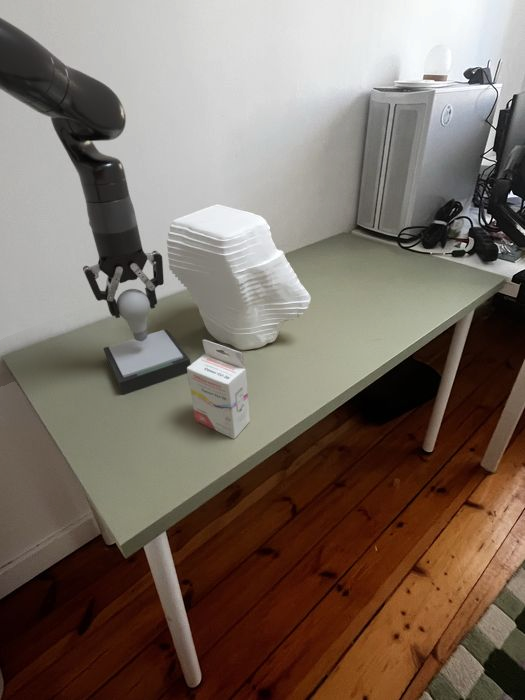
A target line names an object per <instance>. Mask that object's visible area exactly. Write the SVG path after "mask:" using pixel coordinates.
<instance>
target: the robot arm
mask: <svg viewBox="0 0 525 700" xmlns="http://www.w3.org/2000/svg"><path fill="white" fill-rule="evenodd" d="M0 90H1V91H3V92H4V93H6V94H7V95H9V96H11V97H13V98H14V99H16V100H17V101H18V102H20V103H22V104H24V105H26V106H27V107H29V108H30V109H32V110H34V111H35V112H37V113H39V114H40V115H43V116H46V117H48V118H50V121H51V124H52V127H53V129H54V131H55V133H56V135H57V137H58V139H59V141H60V143H61V145H62V146H63V148H64V150H65V151H66V154H67V156H68V158H69V159H70V161H71V163H72V165H73V166H74V168H75V170H76V172H77V174H78V177H79V182H80V186H81V189H82V192H83V196H84V199H85V200H84V201H85V205H86V213H87V219H88V225H89V226H90V228H91V232H92V237H93V240H94V243H95V247H96V251H97V254H98V261H97V264H94V265H91V266H88V265H84V266H83V267H82V271H83V273H84V275H85V278H86V280H87V282H88V285H89V287H90V289H91V291H92V293H93V295H94V297H95V299H96V301H99V302H100V301H106V304H107V307H108V311H109V313H110V315H111V316H112V317H115V319H119V318H121V315H120V314H119V311H118V307H117V299H116V298H115V296H116V293H117V291H118V289H119V284H123V283H124V284H125V283H126V282H129V281H135V280H138V278H139V280H140V281H141V282H142V283H143V284H144V286H145V288H144V290H145V294H146V296H147V297H148V299H149V301H150V309H151V310H152V309H156V306H157V305H158V299H157V298H158V297H157V294H156V288H157V287H158V286H162V285H164V281H165V280H164V264H163V256H162V254H161V253H160V252H158V251H157V250H153V251H152V252H147V253H145V252H144V249H143V245H142V241H141V235H140V231H139V225H138V221H137V216H136V212H135V207H134V204H133V201H132V198H131V195H130V189H129V186H128V181H127V176H126V172H125V167H124V164H123V162H122V161H121V160H120V159H119V158H117V157H114V156H111V155H107V154H104V153H102V152H100V151H99V149H98V148H97V146H96V145H95V143H94V142H103V141H104V142H108V141H113V140H115V139H118V138H119V137H120V136H122V134H123V132H124V130H125V128H126V124H127V115H126V111H125V107H124V105H123V103H122V101H121V99H120V98H119V96H118V94H116V92H114V90H112V88H110V87H109V86H108V85H106V84H105V83H104V82H102V81H100V80H98V79H96V78H94V77H92V76H90V75H89V74H86V73H84V72H83V71H80V70H78V69H75V68H73V67H70V66H68V65H66V64H65V63H64V62H63V61H62V60H61V59H59V58H58V57H57V56H56V55H54V54H53V53H52V52H51V51H50V50H48V49H47V48H46V47H45V46H43V44H41V43H40V42H39V41H37V40H36V39H35V38H33V37H32V36H31V35H29V34H27V32H25V31H23V30H21V28H19V27H17V26H16V25H14V24H13V23H11V22H9V21H8V20H6V19H4V18H2V17H0ZM147 261H148V262H149V263H150V265H152V274H153V275H152V278H151V279H150V278H148V276H147V275H146V274H145V272H144V271H143V270H144V268H145V266H146V263H147ZM100 272H102V273H104V274H105V275H106V276H107V277H106V281H105V282H106V284H105V289H104V290H101V288H100V286H99V284H98V281H97V279H98V278H99V273H100Z"/></svg>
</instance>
